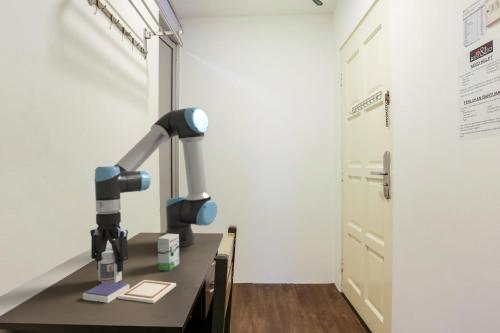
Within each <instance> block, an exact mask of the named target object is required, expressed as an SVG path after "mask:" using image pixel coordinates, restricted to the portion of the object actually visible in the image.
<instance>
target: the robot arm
mask: <svg viewBox="0 0 500 333" xmlns="http://www.w3.org/2000/svg"><path fill="white" fill-rule="evenodd" d="M208 129H209V119H208V116H207V114H206V113H205V112H204V111H203V110H202V109H201V108H199V107H187V108H181V109H174V110H171V111H169V112H167V113H165V114H163V115H162V116H161V117H160V118H159V119H158V120H156V122H154V124H152V125H151V127H150V130H149V131H148V132H147V133H146V134H145V135H144V136H143V137H142V138H141V139H140V140H139V141H138V142H137V143H136V144H135V145H134V146H133V147H132V148H131V149H129V151H128V152H127V153H126V154H125V155H124V156H122V158H120V159H119V161H117V162H116V164H114V165H113V166H112V165H111V166H97V167H96V168H95V172H94V188H95V190H94V191H95V192H94V193H95V194H94V195H95V212H96V214H95V224H96V225H97V227H96V228H94V229H90V231H89V233H90V236H91V241H90V243H91V246H90V248H91V253H90V254H91V255H90V256H91V257H90V258H91V260H95V261H96V270H97V272H98V273H97V274H98V282H101V269H100V261H101V260H102V259H103V258H102V252H105V251H107V250H106V249H107V245H108V242H109V244H110V245H111V248H112V249H111V250H113V253H114V257H115V261H116V262H114V282H117V283H120V281H122V280H123V276H122V275H123V273H122V272H123V271H124V261H126V260H129V248H128V247H129V246H128V233H129V230H128V229H125V230H124V229H122V228H121V226H120V223H121V221H122V219H121V218H122V213H121V209H122V208H121V194H123V193H124V194H125V193H134V192H135V193H136V192H139V193H140V192H143V191H146V190H148V189H149V188H150V186H151V182H152V180H151V176H150V174H149V172H147V171H145V170H138V169H140V167H142V165H143V164H144V163H145V162H146V161H147V160H148V159H149V157H151V156H152V155H153V153H155V151H156V150H157V149H158V148H160V146H161V145H162V144H163V143H166V142H168V141H170V139H172V138H173V137H178V140H179V141H180V142H181V143H182V149H183V158H184V167H185V176H186V177H185V178H186V185H187V195H185V196H178V197H172V198H168V199H167V200H166V202H165V205H166V206H165V212H166V213H165V214H166V231H165V234H164V235H166V234H179V248H185V247H189V246H193V245H194V244H196V238H195V235H194V232H193V229H192V225H194V226H199V227H201V226H203V227H204V226H210V225H211V224H212V223H213V222H214V221H215V219H216V217H217V214H218V206H217V203H216V201H214V200H212V197H211V194H210V193H209V192H208V189H207V182H206V180H207V179H206V171H205V163H204V162H205V160H204V153H203V144H202V141H203V139H204V138H205V133H206V132H207V131H208Z"/></svg>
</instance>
